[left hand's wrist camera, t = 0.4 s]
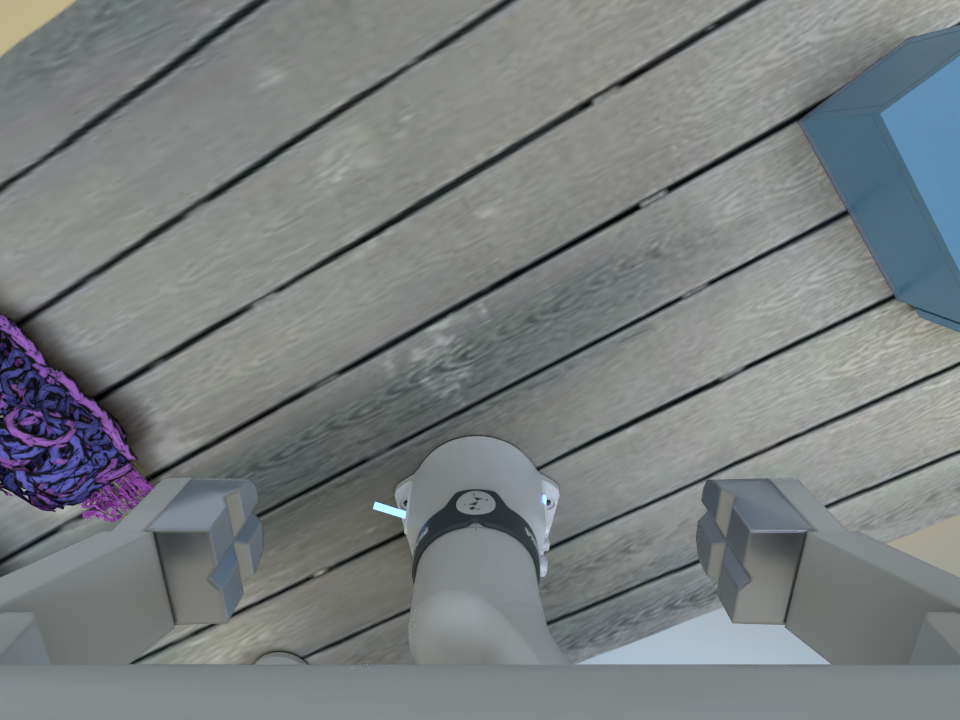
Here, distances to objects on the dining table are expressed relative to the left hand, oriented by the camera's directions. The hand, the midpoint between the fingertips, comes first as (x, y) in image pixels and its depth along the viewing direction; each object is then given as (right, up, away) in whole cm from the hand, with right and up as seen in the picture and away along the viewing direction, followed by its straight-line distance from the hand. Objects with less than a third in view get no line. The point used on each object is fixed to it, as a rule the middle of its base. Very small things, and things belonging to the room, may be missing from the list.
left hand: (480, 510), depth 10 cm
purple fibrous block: (-44, -2, +51) cm, 68 cm away
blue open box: (+40, +20, +43) cm, 62 cm away
